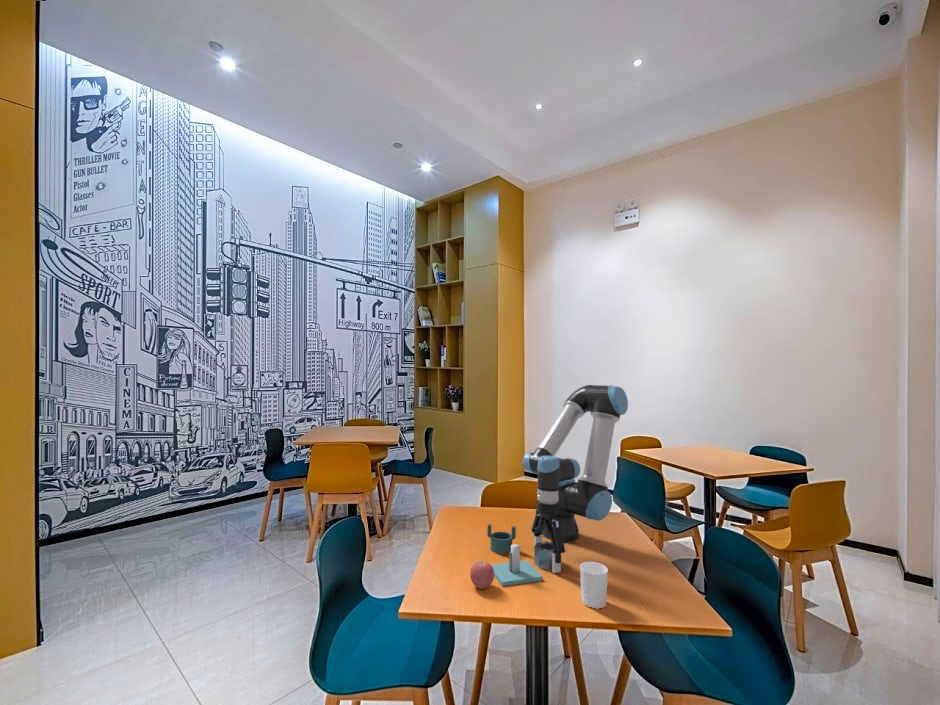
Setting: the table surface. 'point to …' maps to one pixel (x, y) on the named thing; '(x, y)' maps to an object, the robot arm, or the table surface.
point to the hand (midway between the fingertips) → (546, 563)
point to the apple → (482, 574)
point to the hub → (543, 555)
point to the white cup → (594, 584)
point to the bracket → (501, 540)
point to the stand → (515, 570)
